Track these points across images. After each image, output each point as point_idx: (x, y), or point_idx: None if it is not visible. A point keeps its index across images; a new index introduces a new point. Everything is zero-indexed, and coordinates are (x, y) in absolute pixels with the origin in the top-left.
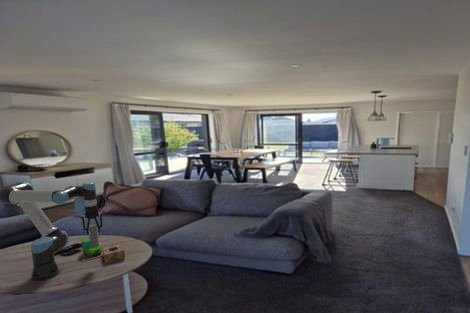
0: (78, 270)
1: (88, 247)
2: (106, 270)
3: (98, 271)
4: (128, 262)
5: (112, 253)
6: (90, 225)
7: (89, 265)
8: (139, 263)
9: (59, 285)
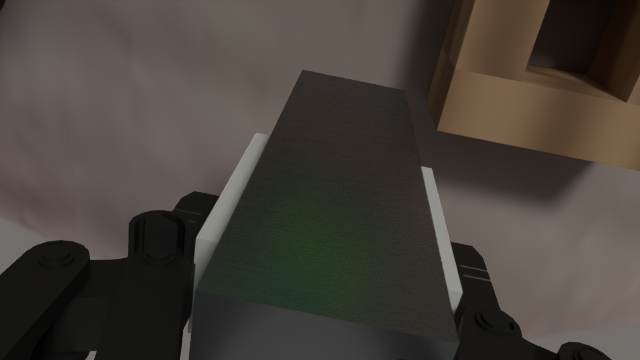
0: (183, 74)
1: None
2: None
3: None
4: (581, 246)
5: (524, 145)
6: (235, 352)
7: (288, 39)
8: (628, 323)
9: (45, 224)
